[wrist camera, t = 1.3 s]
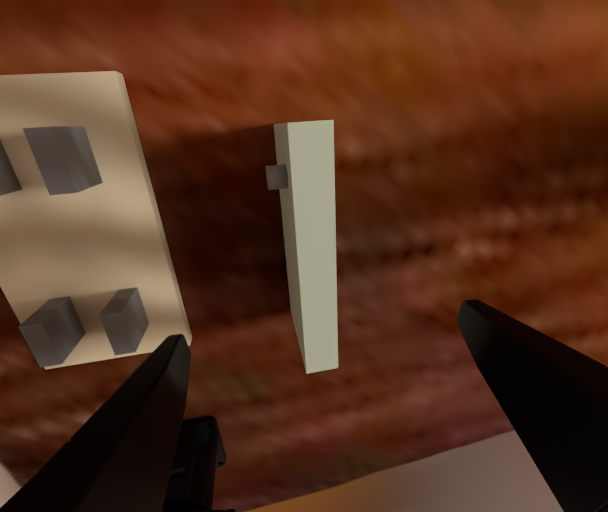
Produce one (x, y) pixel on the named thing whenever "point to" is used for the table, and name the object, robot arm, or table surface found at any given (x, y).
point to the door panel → (309, 234)
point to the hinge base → (81, 222)
